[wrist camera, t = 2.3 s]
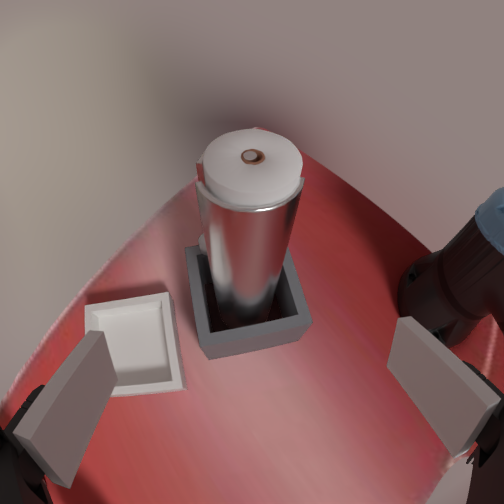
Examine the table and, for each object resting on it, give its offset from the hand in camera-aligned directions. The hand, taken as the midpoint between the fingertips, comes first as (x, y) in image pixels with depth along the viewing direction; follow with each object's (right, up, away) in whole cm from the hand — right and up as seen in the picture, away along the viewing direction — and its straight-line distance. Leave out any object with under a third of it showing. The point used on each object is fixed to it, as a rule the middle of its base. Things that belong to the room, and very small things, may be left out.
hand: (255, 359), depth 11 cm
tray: (-15, -8, +22) cm, 28 cm away
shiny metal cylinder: (-1, -3, +26) cm, 26 cm away
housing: (-1, -3, +25) cm, 25 cm away
